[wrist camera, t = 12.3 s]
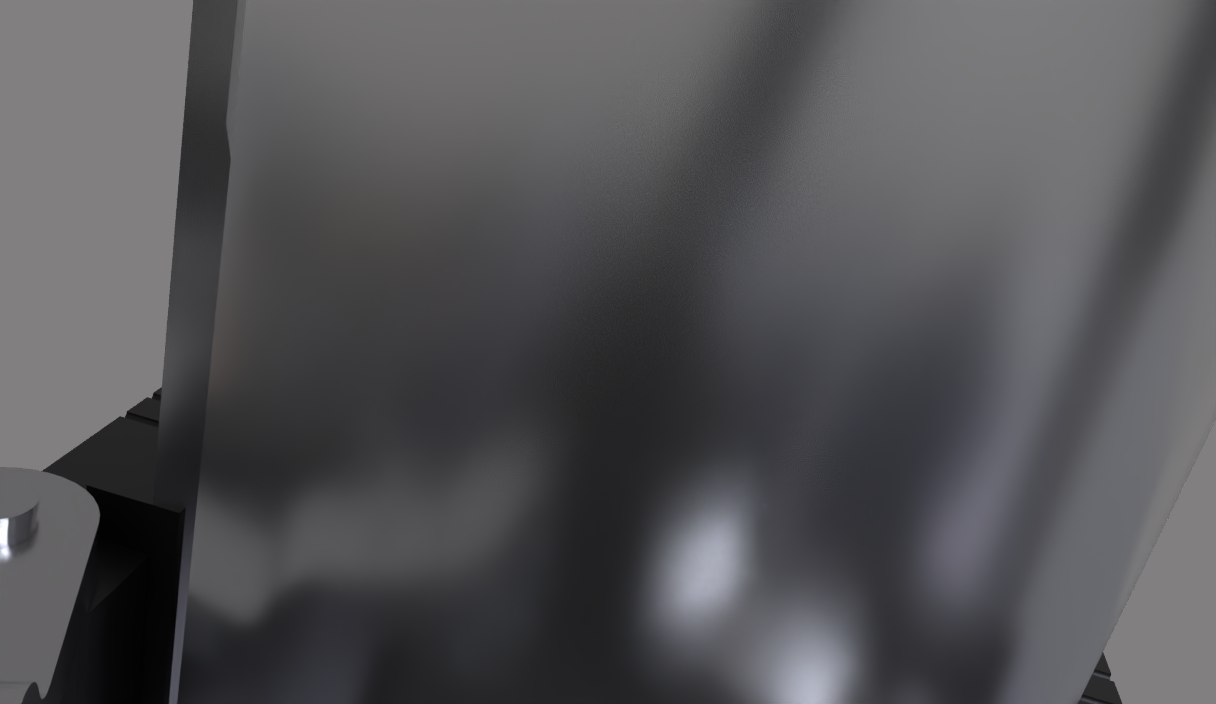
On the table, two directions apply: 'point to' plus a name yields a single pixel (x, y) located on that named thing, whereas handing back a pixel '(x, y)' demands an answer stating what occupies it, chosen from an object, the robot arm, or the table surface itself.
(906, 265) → the silver metal cylinder
